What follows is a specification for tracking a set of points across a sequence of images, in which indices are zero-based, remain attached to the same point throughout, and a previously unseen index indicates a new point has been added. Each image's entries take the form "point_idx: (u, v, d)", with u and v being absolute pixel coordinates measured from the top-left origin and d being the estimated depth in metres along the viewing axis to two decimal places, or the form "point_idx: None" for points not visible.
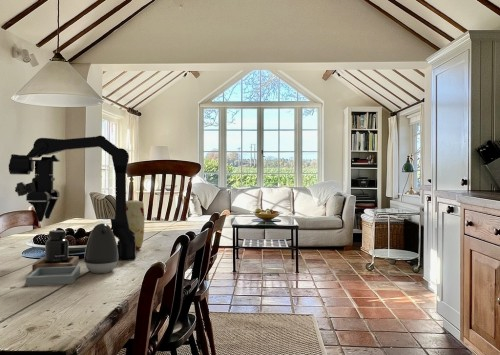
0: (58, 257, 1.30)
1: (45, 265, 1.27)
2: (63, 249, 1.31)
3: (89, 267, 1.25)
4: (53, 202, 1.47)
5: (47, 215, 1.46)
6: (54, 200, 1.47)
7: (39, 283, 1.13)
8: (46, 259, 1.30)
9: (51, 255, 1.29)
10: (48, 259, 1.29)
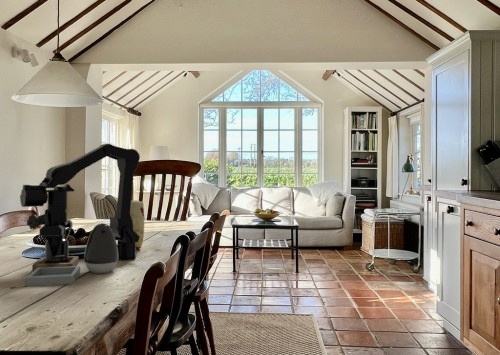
0: (58, 257, 1.30)
1: (45, 265, 1.27)
2: (63, 248, 1.31)
3: (89, 267, 1.25)
4: (65, 234, 1.37)
5: None
6: (67, 232, 1.37)
7: (39, 283, 1.13)
8: (46, 259, 1.30)
9: (51, 255, 1.29)
10: (48, 259, 1.29)
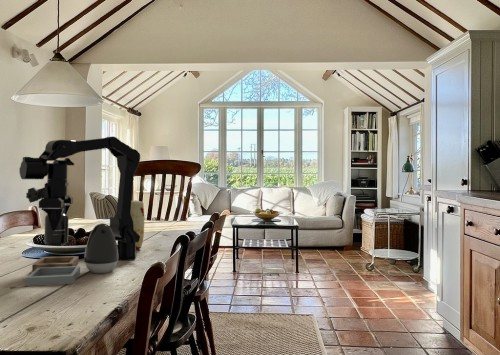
0: (57, 231, 1.28)
1: (45, 265, 1.27)
2: (63, 223, 1.29)
3: (89, 267, 1.25)
4: (66, 209, 1.35)
5: None
6: (67, 207, 1.35)
7: (39, 283, 1.13)
8: (46, 234, 1.28)
9: (50, 230, 1.27)
10: (47, 233, 1.27)
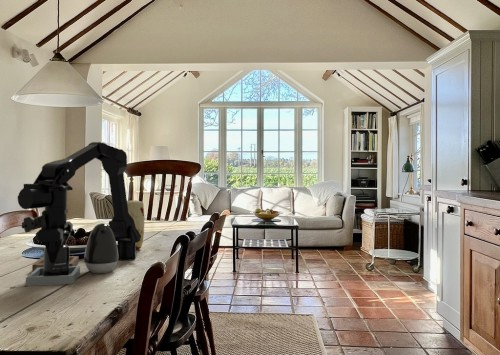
0: (58, 265, 1.16)
1: None
2: (63, 256, 1.18)
3: (89, 267, 1.25)
4: None
5: None
6: (66, 235, 1.24)
7: (39, 283, 1.13)
8: (45, 268, 1.17)
9: (50, 264, 1.16)
10: (47, 267, 1.16)
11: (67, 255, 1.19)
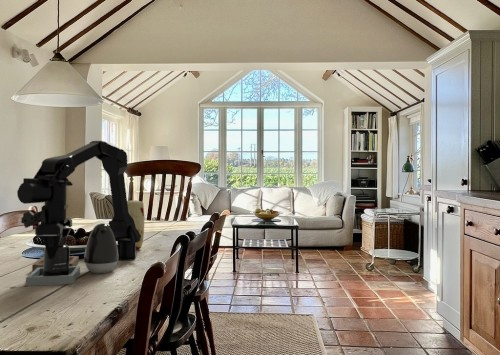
0: (58, 265, 1.16)
1: None
2: (63, 256, 1.18)
3: (89, 267, 1.25)
4: (65, 233, 1.24)
5: None
6: (66, 230, 1.24)
7: (39, 283, 1.13)
8: (45, 268, 1.17)
9: (50, 264, 1.16)
10: (47, 267, 1.16)
11: (67, 255, 1.19)
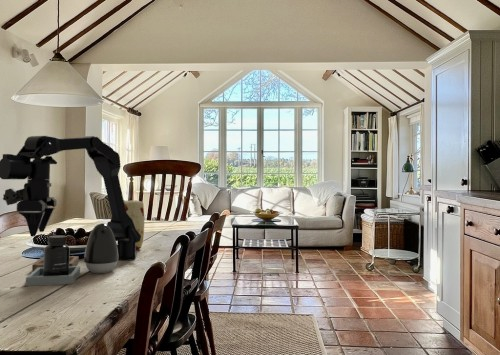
0: (58, 265, 1.16)
1: None
2: (63, 256, 1.18)
3: (89, 267, 1.25)
4: (49, 212, 1.23)
5: (41, 228, 1.22)
6: (50, 210, 1.23)
7: (39, 283, 1.13)
8: (45, 268, 1.17)
9: (50, 264, 1.16)
10: (47, 267, 1.16)
11: (67, 255, 1.19)
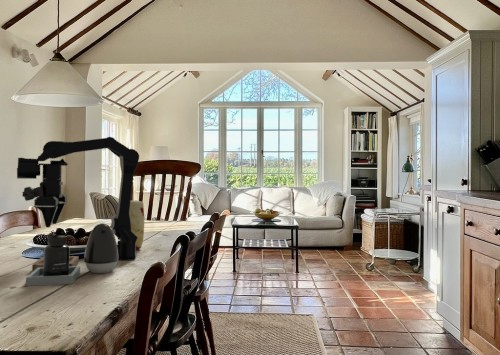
0: (58, 265, 1.16)
1: None
2: (63, 256, 1.18)
3: (89, 267, 1.25)
4: (61, 207, 1.43)
5: (54, 220, 1.42)
6: (62, 205, 1.43)
7: (39, 283, 1.13)
8: (45, 268, 1.17)
9: (50, 264, 1.16)
10: (47, 267, 1.16)
11: (67, 255, 1.19)
